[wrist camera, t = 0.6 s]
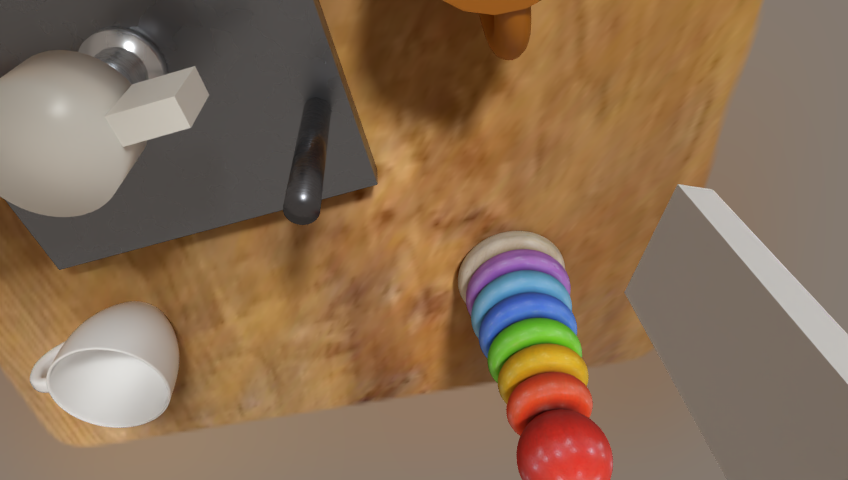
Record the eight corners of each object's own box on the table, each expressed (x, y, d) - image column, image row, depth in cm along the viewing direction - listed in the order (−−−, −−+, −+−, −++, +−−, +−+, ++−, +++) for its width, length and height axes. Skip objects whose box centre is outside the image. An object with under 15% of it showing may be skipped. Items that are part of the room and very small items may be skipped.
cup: (205, 352, 48) (185, 421, 43) (79, 367, 48) (42, 438, 43) (174, 275, 44) (147, 341, 38) (35, 292, 44) (-13, 360, 38)
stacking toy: (446, 239, 44) (490, 465, 29) (555, 214, 44) (659, 429, 28) (466, 318, 49) (514, 549, 33) (565, 296, 48) (660, 520, 33)
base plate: (-191, -99, 30) (-502, -52, 19) (235, -240, 28) (156, -276, 17) (71, 252, 42) (-29, 399, 31) (377, 169, 40) (381, 295, 30)
